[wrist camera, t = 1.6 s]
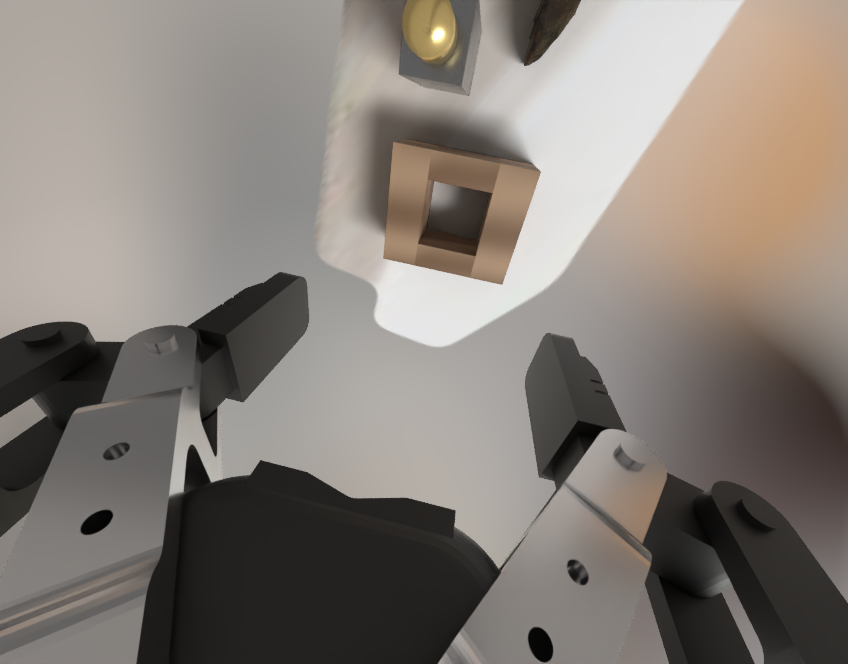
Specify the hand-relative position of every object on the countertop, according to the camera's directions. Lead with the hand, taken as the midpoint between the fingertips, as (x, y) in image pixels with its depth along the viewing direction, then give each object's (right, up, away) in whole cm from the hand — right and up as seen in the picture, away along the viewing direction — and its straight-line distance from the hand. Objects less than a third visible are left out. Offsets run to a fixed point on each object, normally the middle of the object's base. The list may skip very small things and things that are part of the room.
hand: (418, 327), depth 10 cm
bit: (+2, +22, +15) cm, 27 cm away
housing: (+4, +13, +21) cm, 25 cm away
